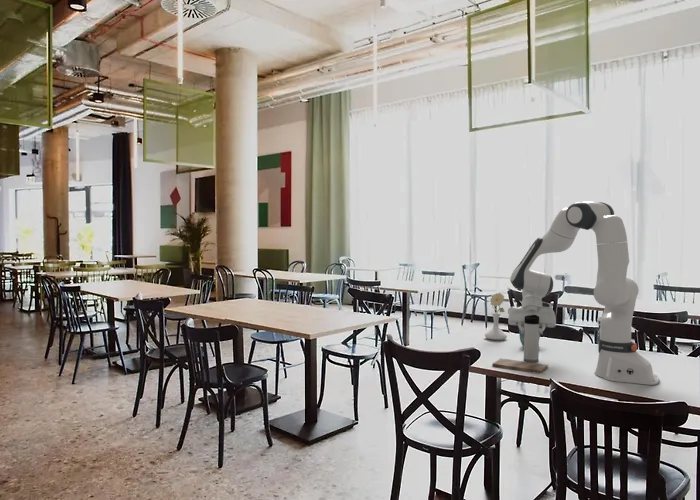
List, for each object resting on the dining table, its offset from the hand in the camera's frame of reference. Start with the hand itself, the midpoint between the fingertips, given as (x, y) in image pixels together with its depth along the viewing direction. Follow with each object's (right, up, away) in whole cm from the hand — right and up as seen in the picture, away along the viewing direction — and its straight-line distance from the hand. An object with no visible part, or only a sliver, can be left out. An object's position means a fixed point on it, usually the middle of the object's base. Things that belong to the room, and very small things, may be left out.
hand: (531, 333), depth 234 cm
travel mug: (0, -13, +1) cm, 13 cm away
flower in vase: (-3, -11, +45) cm, 47 cm away
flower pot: (+9, -11, +29) cm, 32 cm away
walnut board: (-8, -13, -10) cm, 18 cm away
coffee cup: (+47, -12, +29) cm, 56 cm away
